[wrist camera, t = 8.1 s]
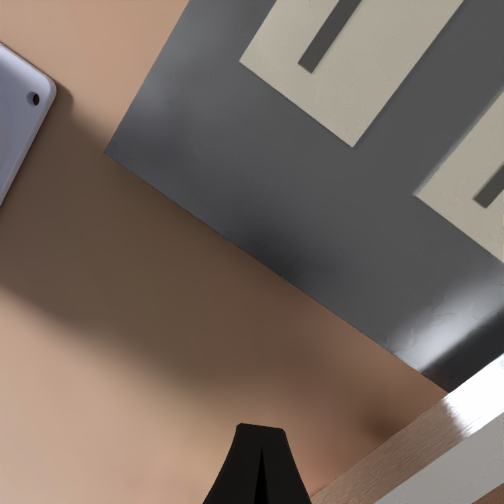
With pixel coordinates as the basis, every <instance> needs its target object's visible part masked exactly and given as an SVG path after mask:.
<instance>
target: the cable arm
mask: <svg viewBox="0 0 504 504" xmlns="http://www.w3.org/2000/svg"><path fill="white" fill-rule="evenodd" d="M502 483H504V353H503V354H502V355H501V356H499V357H498V358H497V359H495V360H494V361H493V362H491V363H490V364H489V365H487V366H486V367H485V368H483V369H482V370H481V371H479V372H478V373H477V374H475V375H474V376H473V377H471V378H470V379H469V380H467V381H466V382H465V383H463V384H462V385H461V386H459V387H458V388H457V389H455V390H454V391H453V392H451V393H450V394H449V395H447V396H446V397H445V398H443V399H442V400H441V401H439V402H438V403H437V404H435V405H434V406H433V407H431V408H430V409H429V410H427V411H426V412H424V413H423V414H422V415H420V416H419V417H418V418H416V419H415V420H414V421H412V422H411V423H410V424H408V425H407V426H406V427H404V428H403V429H402V430H400V431H399V432H398V433H396V434H395V435H394V436H392V437H391V438H390V439H388V440H387V441H386V442H384V443H383V444H382V445H380V446H379V447H378V448H376V449H375V450H374V451H372V452H371V453H370V454H368V455H367V456H366V457H364V458H363V459H362V460H360V461H359V462H358V463H356V464H355V465H354V466H352V467H351V468H350V469H348V470H347V471H346V472H344V473H343V474H342V475H340V476H339V477H338V478H336V479H335V480H334V481H332V482H331V483H330V484H328V485H327V486H326V487H324V488H323V489H322V490H320V491H319V492H318V493H316V494H315V495H314V496H312V497H311V498H310V500H311V502H312V504H472V503H473V502H475V501H476V500H478V499H479V498H481V497H482V496H484V495H485V494H487V493H488V492H490V491H491V490H493V489H495V488H496V487H498V486H499V485H501V484H502Z"/></svg>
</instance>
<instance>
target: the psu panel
mask: <svg viewBox="0 0 504 504" xmlns="http://www.w3.org/2000/svg"><path fill="white" fill-rule="evenodd" d="M104 153H105V154H106V155H108V156H109V157H110V158H112V159H113V160H115V161H116V162H118V163H119V164H121V165H122V166H123V167H125V168H126V169H128V170H129V171H131V172H132V173H133V174H135V175H136V176H138V177H139V178H141V179H142V180H144V181H145V182H146V183H148V184H149V185H151V186H152V187H154V188H155V189H156V190H158V191H159V192H161V193H162V194H164V195H165V196H167V197H168V198H169V199H171V200H172V201H174V202H175V203H177V204H178V205H179V206H181V207H182V208H184V209H185V210H187V211H188V212H189V213H191V214H192V215H194V216H195V217H197V218H198V219H200V220H201V221H202V222H204V223H205V224H207V225H208V226H210V227H211V228H212V229H214V230H215V231H217V232H218V233H220V234H221V235H223V236H224V237H225V238H227V239H228V240H230V241H231V242H233V243H234V244H235V245H237V246H238V247H240V248H241V249H243V250H244V251H246V252H247V253H248V254H250V255H251V256H253V257H254V258H256V259H257V260H258V261H260V262H261V263H263V264H264V265H266V266H267V267H269V268H270V269H271V270H273V271H274V272H276V273H277V274H279V275H280V276H281V277H283V278H284V279H286V280H287V281H289V282H290V283H291V284H293V285H294V286H296V287H297V288H299V289H300V290H302V291H303V292H304V293H306V294H307V295H309V296H310V297H312V298H313V299H314V300H316V301H317V302H319V303H320V304H322V305H323V306H325V307H326V308H327V309H329V310H330V311H332V312H333V313H335V314H336V315H337V316H339V317H340V318H342V319H343V320H345V321H346V322H348V323H349V324H350V325H352V326H353V327H355V328H356V329H358V330H359V331H360V332H362V333H363V334H365V335H366V336H368V337H369V338H371V339H372V340H373V341H375V342H376V343H378V344H379V345H381V346H382V347H383V348H385V349H386V350H388V351H389V352H391V353H392V354H394V355H395V356H396V357H398V358H399V359H401V360H402V361H404V362H405V363H406V364H408V365H409V366H411V367H412V368H414V369H415V370H416V371H418V372H419V373H421V374H422V375H424V376H425V377H427V378H428V379H429V380H431V381H432V382H434V383H435V384H437V385H438V386H439V387H441V388H442V389H444V390H445V391H447V392H448V393H451V392H453V391H454V390H455V389H457V388H458V387H459V386H461V385H462V384H463V383H465V382H466V381H467V380H469V379H470V378H471V377H473V376H474V375H475V374H477V373H478V372H479V371H481V370H482V369H483V368H485V367H486V366H487V365H489V364H490V363H491V362H493V361H494V360H495V359H497V358H498V357H499V356H501V355H502V354H503V353H504V0H190V1H189V2H188V4H187V6H186V8H185V9H184V11H183V13H182V15H181V17H180V18H179V20H178V22H177V24H176V25H175V27H174V29H173V31H172V32H171V34H170V36H169V38H168V40H167V41H166V43H165V45H164V47H163V48H162V50H161V52H160V54H159V56H158V57H157V59H156V61H155V63H154V64H153V66H152V68H151V70H150V71H149V73H148V75H147V77H146V79H145V80H144V82H143V84H142V86H141V87H140V89H139V91H138V93H137V95H136V96H135V98H134V100H133V102H132V103H131V105H130V107H129V109H128V110H127V112H126V114H125V116H124V118H123V119H122V121H121V123H120V125H119V126H118V128H117V130H116V132H115V134H114V135H113V137H112V139H111V141H110V142H109V144H108V146H107V148H106V149H105V151H104Z"/></svg>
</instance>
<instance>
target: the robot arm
mask: <svg viewBox="0 0 504 504" xmlns="http://www.w3.org/2000/svg"><path fill="white" fill-rule="evenodd" d="M56 92H57V91H56V85H55V83H54V81H53V80H52V79H51V78H50V77H48V76H47V75H45V74H44V73H43V72H41V71H40V70H38V69H37V68H35V67H34V66H33V65H31V64H30V63H28V62H27V61H26V60H24V59H23V58H21V57H20V56H19V55H17V54H16V53H14V52H13V51H11V50H10V49H9V48H7V47H6V46H4V45H3V44H2V43H0V205H1V203H2V201H3V199H4V198H5V196H6V194H7V192H8V190H9V188H10V186H11V184H12V182H13V180H14V178H15V176H16V174H17V172H18V170H19V168H20V166H21V164H22V162H23V160H24V158H25V156H26V154H27V152H28V150H29V148H30V146H31V144H32V142H33V140H34V138H35V136H36V134H37V132H38V130H39V128H40V126H41V124H42V122H43V120H44V118H45V116H46V114H47V112H48V110H49V108H50V106H51V104H52V102H53V100H54V99H55V96H56ZM35 94H38V96H39V99H40V101H39V104H38V105H37V106H36V105H35V104H34V102H33V96H34V95H35ZM203 504H312V502H311V500H310V498H309V495H308V493H307V491H306V488H305V486H304V484H303V482H302V479H301V477H300V474H299V472H298V469H297V467H296V464H295V461H294V459H293V456H292V453H291V450H290V447H289V444H288V441H287V437H286V433H285V432H284V430H283V429H281V428H274V427H266V426H259V425H252V424H244V423H240V424H239V425H237V427H236V432H235V436H234V439H233V442H232V445H231V448H230V450H229V453H228V455H227V457H226V460H225V462H224V464H223V466H222V468H221V470H220V472H219V474H218V476H217V478H216V480H215V482H214V484H213V486H212V488H211V490H210V491H209V493H208V495H207V497H206V498H205V500H204V502H203Z"/></svg>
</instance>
